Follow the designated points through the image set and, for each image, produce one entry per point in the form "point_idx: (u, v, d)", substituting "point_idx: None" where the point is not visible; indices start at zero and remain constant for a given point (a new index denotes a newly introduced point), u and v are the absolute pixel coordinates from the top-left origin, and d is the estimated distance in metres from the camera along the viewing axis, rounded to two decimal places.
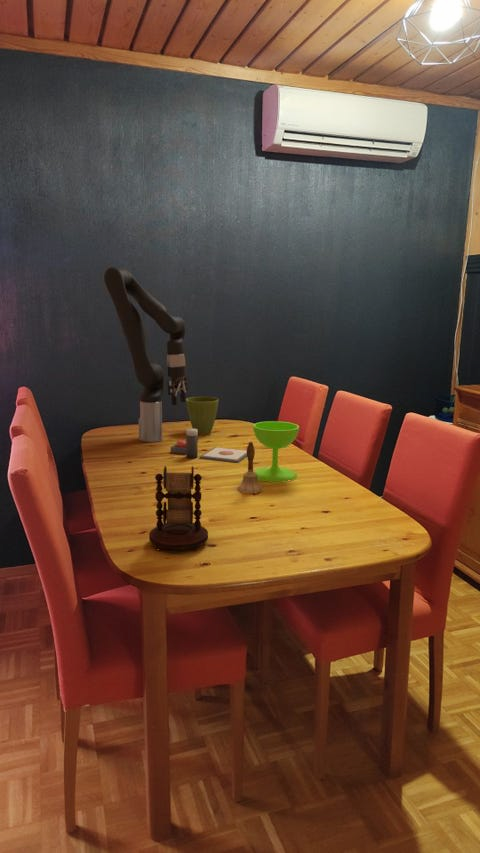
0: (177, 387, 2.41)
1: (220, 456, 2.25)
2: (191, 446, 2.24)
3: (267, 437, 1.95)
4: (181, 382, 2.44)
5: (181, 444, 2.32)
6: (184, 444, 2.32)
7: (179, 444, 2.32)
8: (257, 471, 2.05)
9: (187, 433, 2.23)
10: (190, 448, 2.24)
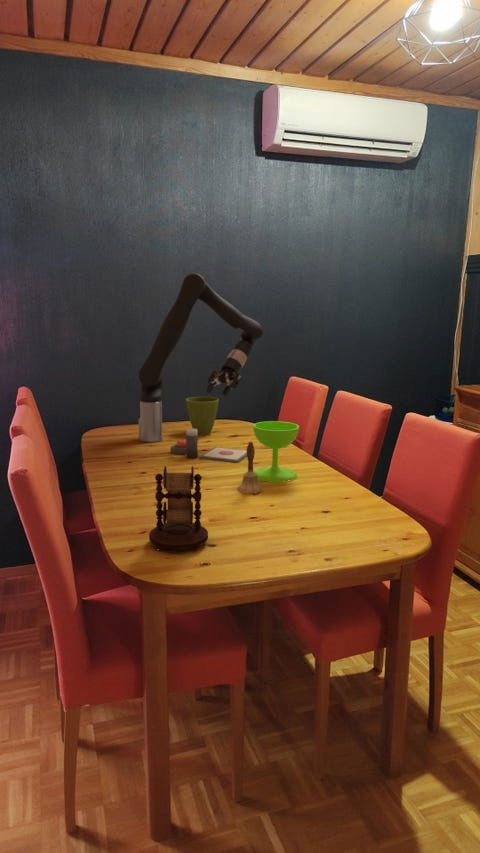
0: (232, 382, 2.34)
1: (220, 456, 2.25)
2: (191, 446, 2.24)
3: (267, 437, 1.95)
4: None
5: (181, 444, 2.32)
6: (184, 444, 2.32)
7: (179, 444, 2.32)
8: (257, 471, 2.05)
9: (187, 433, 2.23)
10: (190, 448, 2.24)
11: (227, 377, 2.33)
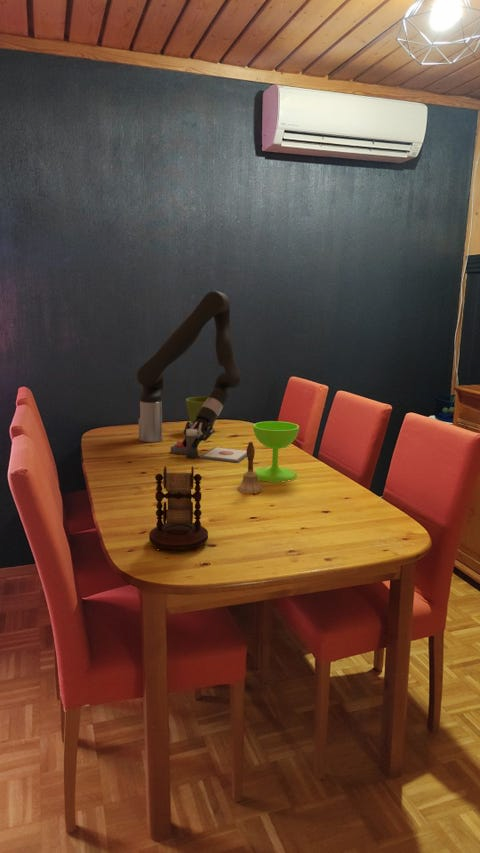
0: None
1: (220, 456, 2.25)
2: None
3: (267, 437, 1.95)
4: None
5: (181, 444, 2.32)
6: None
7: (179, 444, 2.32)
8: (257, 471, 2.05)
9: (187, 433, 2.23)
10: (190, 448, 2.24)
11: (200, 428, 2.25)
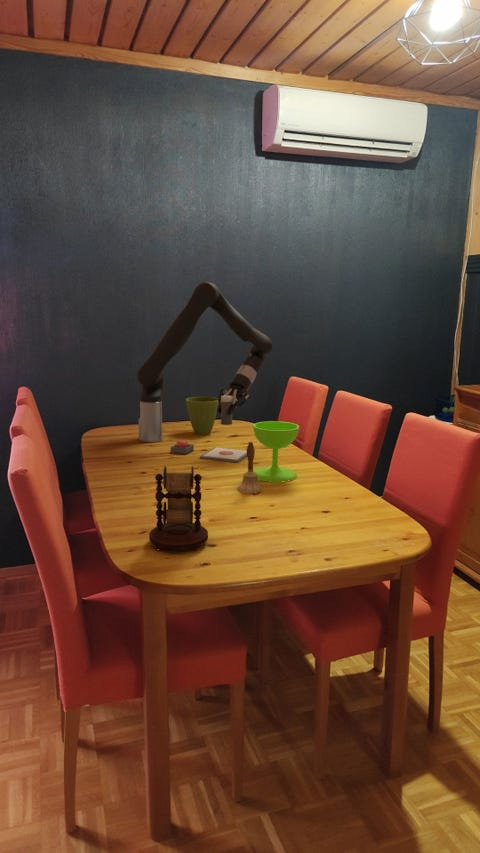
0: None
1: (220, 456, 2.25)
2: (226, 412, 2.24)
3: (267, 437, 1.95)
4: None
5: (181, 444, 2.32)
6: (184, 444, 2.32)
7: (179, 444, 2.32)
8: (257, 471, 2.05)
9: (222, 399, 2.24)
10: (225, 414, 2.24)
11: (234, 395, 2.25)
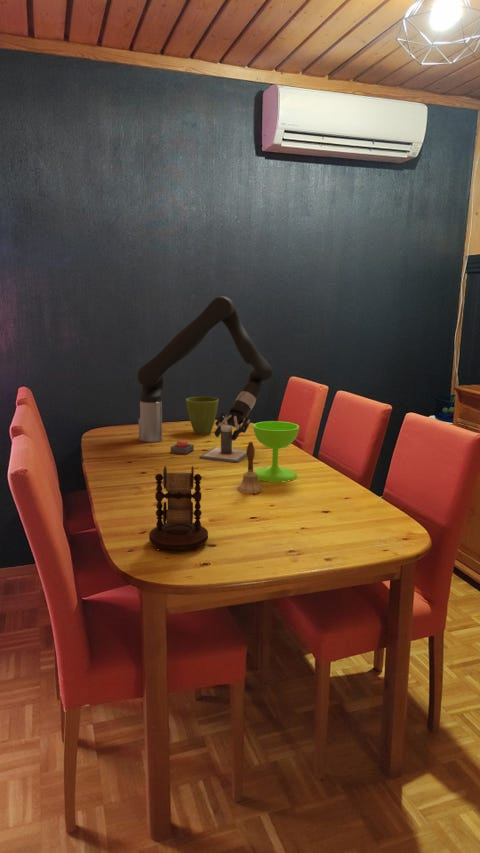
0: (240, 426, 2.29)
1: (220, 456, 2.25)
2: (226, 442, 2.27)
3: (267, 437, 1.95)
4: None
5: (181, 444, 2.32)
6: (184, 444, 2.32)
7: (179, 444, 2.32)
8: (257, 471, 2.05)
9: (222, 429, 2.26)
10: (225, 444, 2.27)
11: (236, 421, 2.27)
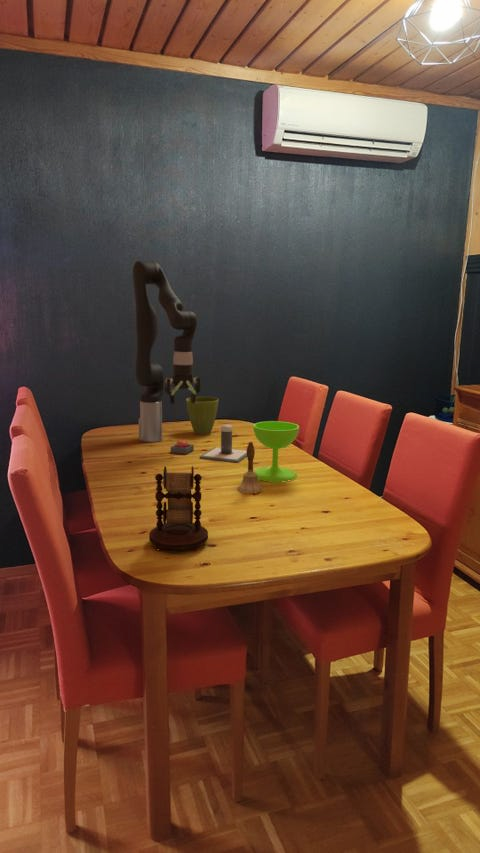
0: (175, 386, 2.26)
1: (220, 456, 2.25)
2: (226, 442, 2.27)
3: (267, 437, 1.95)
4: (185, 382, 2.28)
5: (181, 444, 2.32)
6: (184, 444, 2.32)
7: (179, 444, 2.32)
8: (257, 471, 2.05)
9: (222, 429, 2.26)
10: (225, 444, 2.27)
11: None
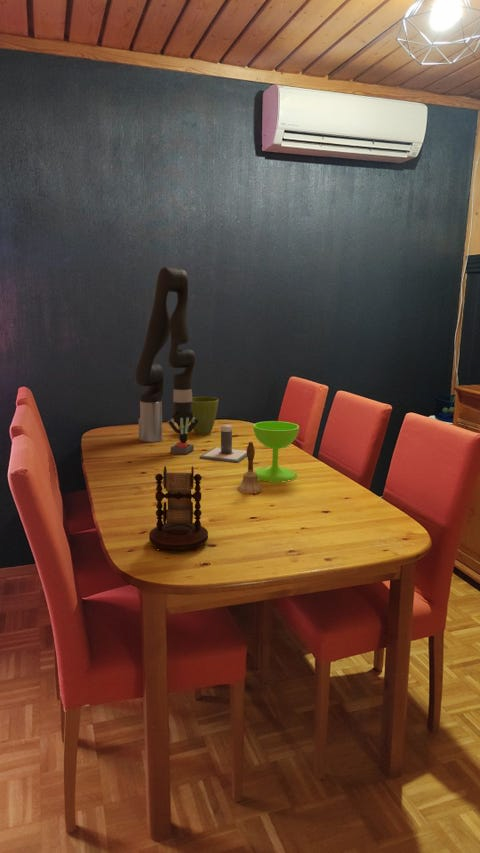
0: (180, 425, 2.30)
1: (220, 456, 2.25)
2: (226, 442, 2.27)
3: (267, 437, 1.95)
4: (185, 417, 2.31)
5: (181, 445, 2.32)
6: (184, 445, 2.32)
7: (179, 445, 2.32)
8: (257, 471, 2.05)
9: (222, 429, 2.26)
10: (225, 444, 2.27)
11: None
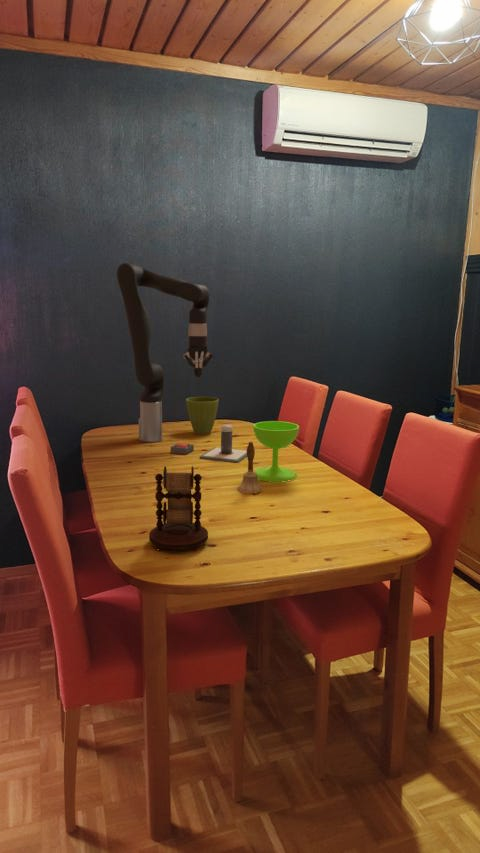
0: (195, 359, 2.37)
1: (220, 456, 2.25)
2: (226, 442, 2.27)
3: (267, 437, 1.95)
4: (200, 352, 2.37)
5: (181, 447, 2.32)
6: (184, 447, 2.32)
7: None
8: (257, 471, 2.05)
9: (222, 429, 2.26)
10: (225, 444, 2.27)
11: None
